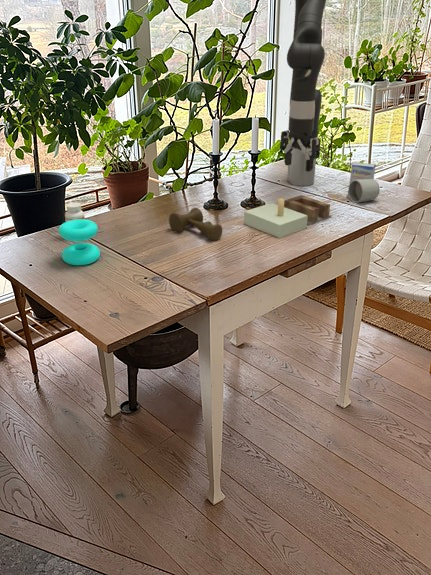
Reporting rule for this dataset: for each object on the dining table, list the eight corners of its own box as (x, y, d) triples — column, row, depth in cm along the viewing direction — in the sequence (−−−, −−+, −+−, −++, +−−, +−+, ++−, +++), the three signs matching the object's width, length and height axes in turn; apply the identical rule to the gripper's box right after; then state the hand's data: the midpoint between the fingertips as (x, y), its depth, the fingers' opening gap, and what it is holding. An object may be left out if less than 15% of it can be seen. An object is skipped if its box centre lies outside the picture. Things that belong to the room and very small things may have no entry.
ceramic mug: (379, 202, 199) (382, 180, 195) (360, 205, 195) (363, 183, 192) (359, 193, 207) (362, 172, 204) (341, 197, 204) (343, 175, 200)
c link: (283, 212, 188) (284, 200, 186) (300, 206, 193) (301, 195, 191) (312, 222, 180) (313, 210, 178) (328, 216, 185) (330, 204, 183)
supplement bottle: (86, 232, 174) (83, 201, 170) (86, 239, 170) (83, 207, 165) (68, 233, 173) (64, 202, 169) (67, 240, 169) (63, 208, 164)
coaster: (282, 215, 187) (282, 214, 186) (305, 208, 193) (305, 206, 193) (308, 225, 179) (308, 223, 179) (331, 217, 186) (331, 215, 186)
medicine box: (348, 188, 212) (351, 164, 208) (351, 184, 216) (353, 161, 212) (370, 190, 210) (374, 166, 206) (372, 187, 213) (375, 163, 209)
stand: (243, 223, 181) (244, 195, 176) (271, 214, 188) (272, 187, 183) (279, 237, 171) (280, 208, 166) (306, 227, 178) (308, 199, 173)
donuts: (92, 215, 159) (101, 228, 151) (95, 249, 163) (104, 263, 155) (54, 220, 155) (62, 233, 147) (59, 255, 160) (66, 269, 152)
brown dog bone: (204, 247, 166) (160, 226, 179) (228, 239, 172) (184, 219, 185) (205, 227, 163) (160, 207, 176) (229, 220, 169) (185, 201, 182)
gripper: (275, 113, 178) (273, 165, 186) (311, 121, 168) (307, 175, 176) (292, 109, 182) (289, 160, 190) (328, 117, 173) (323, 170, 180)
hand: (298, 168), depth 183 cm, fingers open, 8 cm apart
